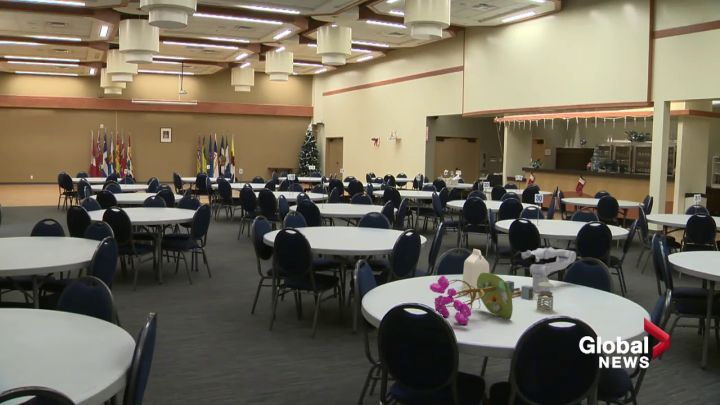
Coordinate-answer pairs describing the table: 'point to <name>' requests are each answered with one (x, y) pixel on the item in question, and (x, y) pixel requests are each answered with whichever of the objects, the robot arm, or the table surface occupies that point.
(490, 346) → the table surface
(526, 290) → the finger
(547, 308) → the french press
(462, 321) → the magenta flower sprig
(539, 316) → the table surface
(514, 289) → the rail
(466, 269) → the milk
